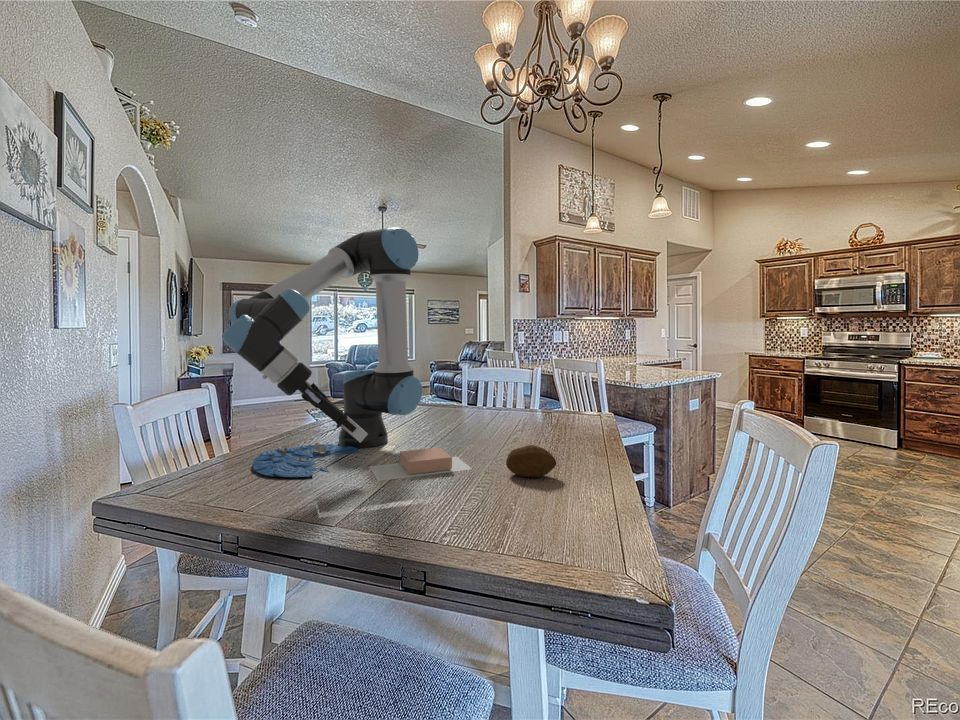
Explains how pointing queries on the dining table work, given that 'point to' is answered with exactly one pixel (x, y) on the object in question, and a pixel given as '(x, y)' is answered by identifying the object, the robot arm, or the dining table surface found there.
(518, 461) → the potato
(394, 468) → the grey rubber mat
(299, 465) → the decorative plate
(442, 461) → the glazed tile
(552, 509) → the dining table surface
